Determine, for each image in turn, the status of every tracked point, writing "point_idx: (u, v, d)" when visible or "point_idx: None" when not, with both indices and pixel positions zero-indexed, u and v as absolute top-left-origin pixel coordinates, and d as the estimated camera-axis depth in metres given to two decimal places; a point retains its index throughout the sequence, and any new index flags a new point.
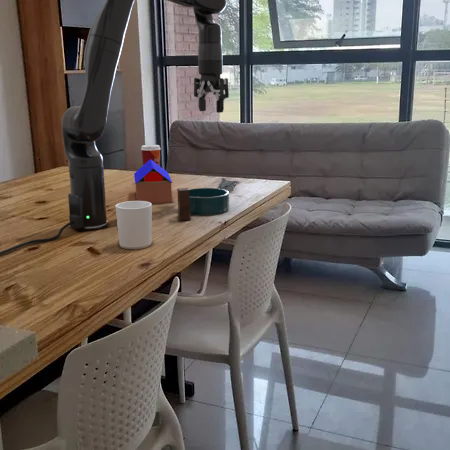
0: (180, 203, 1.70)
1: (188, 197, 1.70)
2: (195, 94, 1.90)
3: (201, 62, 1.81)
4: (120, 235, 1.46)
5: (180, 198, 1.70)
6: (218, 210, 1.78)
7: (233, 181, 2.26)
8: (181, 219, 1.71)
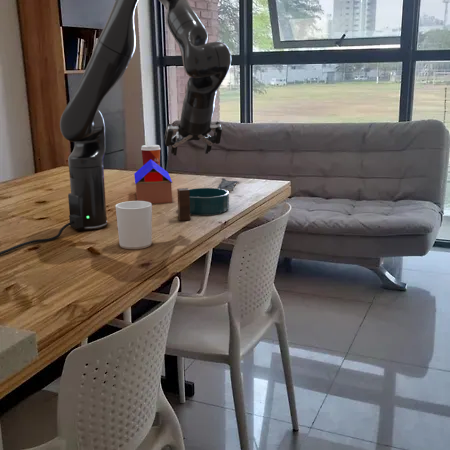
0: (180, 203, 1.70)
1: (188, 197, 1.70)
2: None
3: None
4: (120, 235, 1.46)
5: (180, 198, 1.70)
6: (218, 210, 1.78)
7: (233, 181, 2.26)
8: (181, 219, 1.71)
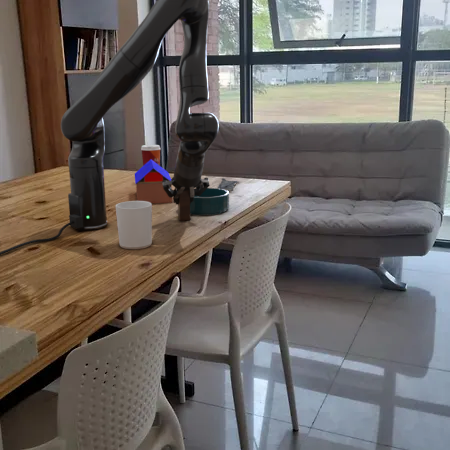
0: (180, 203, 1.70)
1: (188, 197, 1.70)
2: None
3: None
4: (120, 235, 1.46)
5: (180, 198, 1.70)
6: (218, 210, 1.78)
7: (233, 181, 2.26)
8: (181, 219, 1.71)
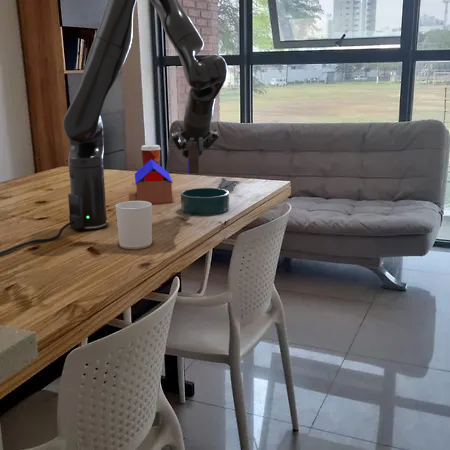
0: (189, 156, 1.71)
1: (197, 149, 1.71)
2: None
3: None
4: (120, 235, 1.46)
5: (189, 151, 1.71)
6: (218, 210, 1.78)
7: (233, 181, 2.26)
8: (190, 172, 1.73)
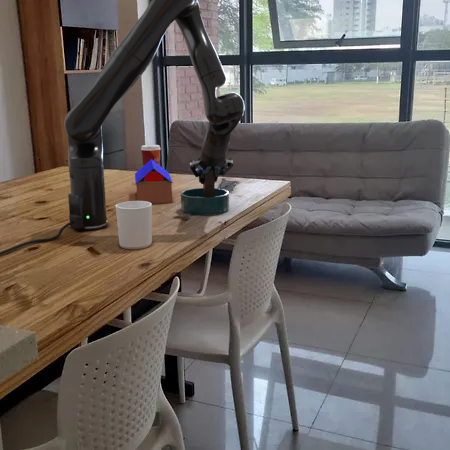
0: (205, 183, 1.81)
1: (213, 177, 1.81)
2: None
3: None
4: (120, 235, 1.46)
5: (205, 178, 1.81)
6: (218, 210, 1.78)
7: (233, 181, 2.26)
8: None
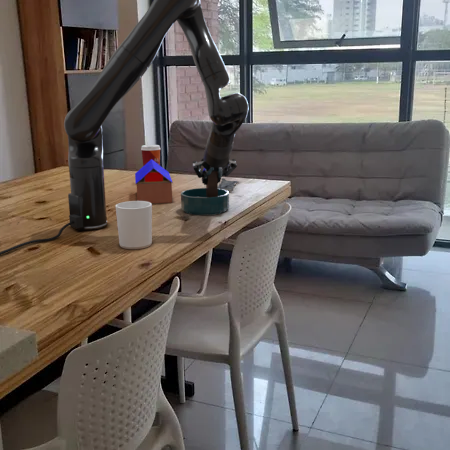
0: (208, 184, 1.80)
1: (216, 178, 1.80)
2: None
3: None
4: (120, 235, 1.46)
5: (208, 179, 1.80)
6: (218, 210, 1.78)
7: (233, 181, 2.26)
8: None
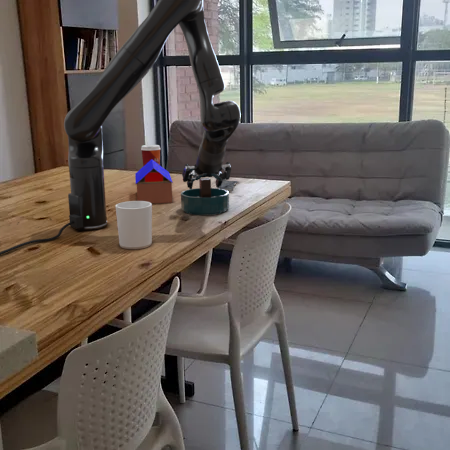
0: (202, 192, 1.81)
1: (209, 186, 1.81)
2: None
3: None
4: (120, 235, 1.46)
5: (202, 187, 1.81)
6: (218, 210, 1.78)
7: (233, 181, 2.26)
8: None
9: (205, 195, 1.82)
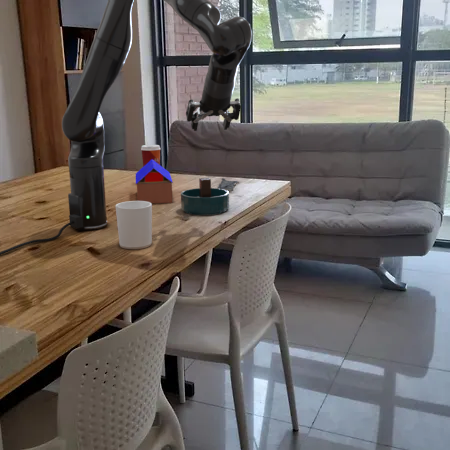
0: (202, 192, 1.81)
1: (209, 186, 1.81)
2: None
3: None
4: (120, 235, 1.46)
5: (202, 187, 1.81)
6: (218, 210, 1.78)
7: (233, 181, 2.26)
8: None
9: (205, 195, 1.82)
